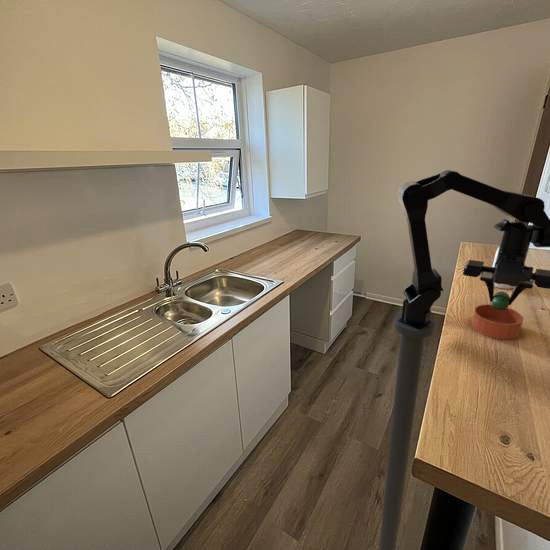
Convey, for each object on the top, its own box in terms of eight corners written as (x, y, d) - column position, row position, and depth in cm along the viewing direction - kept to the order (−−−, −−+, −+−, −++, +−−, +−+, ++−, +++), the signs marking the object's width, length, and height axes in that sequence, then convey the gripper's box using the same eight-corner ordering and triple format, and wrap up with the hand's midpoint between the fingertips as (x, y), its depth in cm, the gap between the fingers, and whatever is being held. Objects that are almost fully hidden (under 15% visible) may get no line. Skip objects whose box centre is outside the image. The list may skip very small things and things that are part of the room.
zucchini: (505, 314, 77) (510, 303, 75) (488, 309, 79) (494, 298, 77) (506, 302, 83) (512, 291, 81) (491, 297, 85) (496, 286, 83)
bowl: (464, 327, 84) (467, 313, 83) (481, 313, 90) (483, 300, 88) (510, 344, 76) (514, 329, 74) (525, 328, 82) (529, 313, 80)
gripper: (464, 251, 74) (454, 306, 80) (567, 263, 63) (547, 326, 69) (471, 239, 82) (461, 290, 88) (563, 248, 71) (545, 306, 77)
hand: (500, 302), depth 80 cm, fingers closed on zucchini, 3 cm apart
